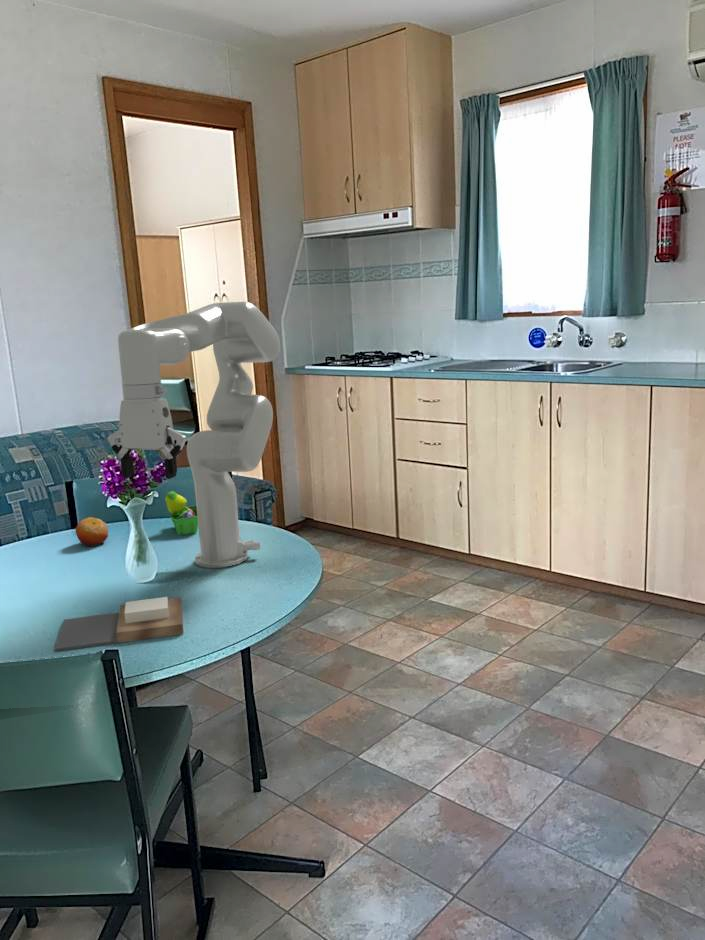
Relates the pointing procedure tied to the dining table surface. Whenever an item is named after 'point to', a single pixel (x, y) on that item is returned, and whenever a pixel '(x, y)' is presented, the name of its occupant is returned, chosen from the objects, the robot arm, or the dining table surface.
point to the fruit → (91, 531)
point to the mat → (88, 631)
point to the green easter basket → (182, 514)
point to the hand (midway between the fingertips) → (149, 477)
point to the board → (151, 624)
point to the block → (146, 610)
